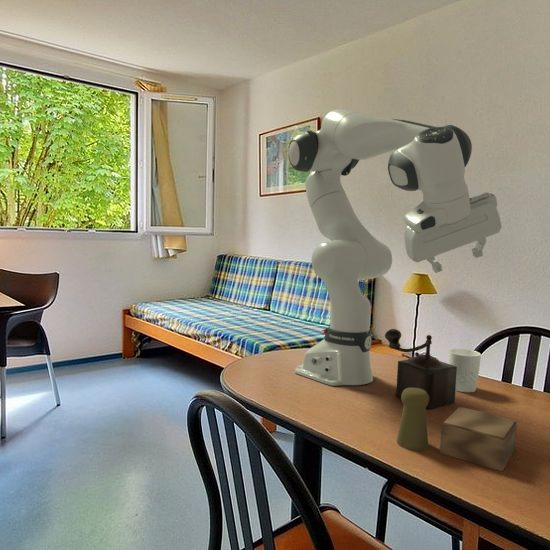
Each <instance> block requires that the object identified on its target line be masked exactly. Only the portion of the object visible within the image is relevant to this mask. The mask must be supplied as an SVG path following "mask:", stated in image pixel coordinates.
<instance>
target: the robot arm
mask: <svg viewBox="0 0 550 550" xmlns="http://www.w3.org/2000/svg"><path fill="white" fill-rule="evenodd" d="M471 140H472V139H471V137H470V136H469V135H468V134H467V133H466V132H465V131H464V130H463V129H462V128H460V127H458V126H455V125H453V124H447V125H443V126H434V125H428V124H423V123H419V122H416V121H415V122H414V121H410V120H405V119H395V118H388V117H387V118H385V117H377V116H372V115H367V114H364V113H361V112H358V111H355V110H353V109H345V108H337V109H334V110H331V111H329V112H328V113H327V114H326V115H325V117H324V118H323V120H322V122H321V127H320V129H319V130H316V131H313V130H312V129H307V131H305V132H304V133H300V134H297V135H295V136H294V137H293V138H292V140H291V141H290V142H289V145H288V149H287V151H288V154H287V155H288V160H289V164H290V165H291V166H292V168H293V170H295V171H299V172H304V173H308V172H311V173H310V174H309V175H308V176H307V177H306V179H305V185H304V186H305V191H306V196H307V201H308V204H309V207H310V209H311V210H310V211H311V213H312V216H313V217H314V220H315V222H316V225H317V228H318V230H319V232H320V234H322V236H324V237H325V238H327V239H329V240H328V241H324V242H321V243H318V245H317V246H315V248H314V250H313V251H312V255H311V260H310V261H311V266H312V270H313V272H314V273H315V275H316V276H317V277H318V278H319V279H320V280H321V281H322V282H323V284H324V286H325V288H326V290H327V294H328V297H329V302H330V303H329V304H330V305H329V306H330V314H329V315H330V317H329V318H330V320H329V321H330V322H329V326H328V327H326V328H325V329H323V330H321V335H324V338H323V339H321V340H320V341H319V342H317V343H316V344H315V345H313V346H312V347H310V348H308V350H307V351H306V352H305V354H304V357H303V362H302V364H300V365H297V366H296V367H295V369H294V374H297V375H298V376H299V375H300V376H302V377H306V378H309V379H310V380H313V381H318V382H319V383H323V384H326V385H328V386H333V387H335V386H361V385H363V386H364V385H366V384H370V383H372V382H373V381H374V375H373V373H372V367H371V356H370V350H371V345H372V330H371V328H370V327H371V311H372V310H371V309H372V306H371V305H372V304H371V302H370V300H369V298H368V297H367V296H365V295H364V294H363V293H362V291H361V288H360V284H359V280H372V279H376V278H379V277H381V276H385V275H386V274H387V273H388V272H389V271H390V269H391V268H392V263H393V255H392V251H391V249H390V248H389V247H388V246H387V245H386V244H384V243H382V242H381V241H380V240H378V239H377V238H376V237H374V235H372V234H371V233H370V231H369V230H368V229H367V228H366V227H365V226H364V225H363V224H362V222H361V221H360V219H359V218H358V217H357V215H356V212H355V211H354V208H353V207H352V204H351V202H350V200H349V198H348V195H347V193H346V190H345V189H344V187H343V185H342V181H341V177H342V176H343V177H345V176H348V175H349V174H350V173H351V171H352V170H353V169H354V168H355V167H356V166H357V165H358V163H359V161H360V160H363V161H365V160H369V159H371V158H372V159H373V158H375V157H377V156H380V155H383V154H386V153H388V152H391V154H390V156H389V159H388V162H387V170H388V175H389V179H390V181H391V183H392V184H393V185H394V186H395V187H397V188H398V189H401V190H404V191H408V192H416V191H420V192H422V194H423V195H422V196H423V197H422V199H423V201H421V202H420V203H419V204H418V205H417V206H415V207H414V208H413V209H411V210H410V211H408V212H407V213H406V214H405V215H404V217H403V219H404V220H403V221H404V222H405V224H406V225H407V227H406V228H405V229H404V246H405V250H406V254H407V257H408V258H409V259H410V260H412V261H413V262H415V263H419V262H422V261H423V262H424V261H427V262H429V263H430V265H431V268H432V270H433V272H434V273H437V274H438V273H439V272H442V271H443V268H442V264H441V263H440V262H439V261H435V260H436V258H435V257H436V256H439V255H441V254H444V253H447V252H450V251H453V250H455V249H458V248H461V247H463V246H467V245H469V244H472V243H474V242H476V244H475V246H474V247H473V248H471V252H472V256H473V257H475V259H478V258H480V257H484V252H483V249H484V248H485V246H486V243H487V237H490V236H493V235H496V234H498V233H500V231H501V229H502V221H501V217H500V215H499V211H498V209H497V208H498V201H497V197H496V195H495V194H493V193H490V192H484V193H482V194H479V195H476V196H473V197H470V192H469V188H468V184H467V183H466V180H465V173H466V167H467V166H468V164H469V161H470V159H471V156H472V151H473V149H472V148H473V146H472V145H473V144H472V141H471ZM392 151H393V152H392ZM434 261H435V262H434ZM429 263H428V264H429Z"/></svg>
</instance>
